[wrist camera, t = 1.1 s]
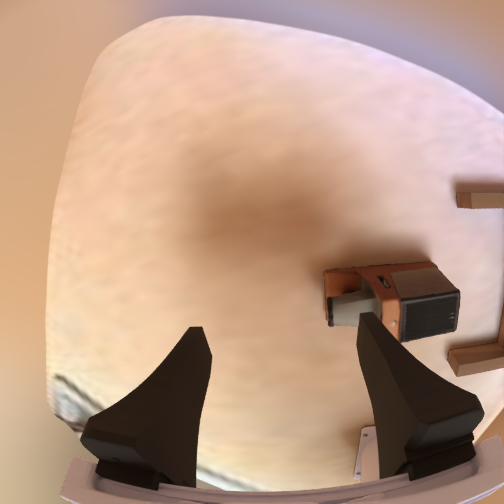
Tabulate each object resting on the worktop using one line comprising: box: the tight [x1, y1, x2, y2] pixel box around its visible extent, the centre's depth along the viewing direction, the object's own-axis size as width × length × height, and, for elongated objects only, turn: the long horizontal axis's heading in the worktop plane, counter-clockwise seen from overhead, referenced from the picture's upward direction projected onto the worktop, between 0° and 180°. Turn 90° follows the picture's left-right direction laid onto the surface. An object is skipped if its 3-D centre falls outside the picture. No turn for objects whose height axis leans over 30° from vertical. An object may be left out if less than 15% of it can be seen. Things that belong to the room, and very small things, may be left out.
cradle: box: [448, 193, 504, 377], centre depth 19 cm, size 15×7×3 cm, turn 6°
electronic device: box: [324, 262, 460, 343], centre depth 20 cm, size 4×10×8 cm, turn 97°
